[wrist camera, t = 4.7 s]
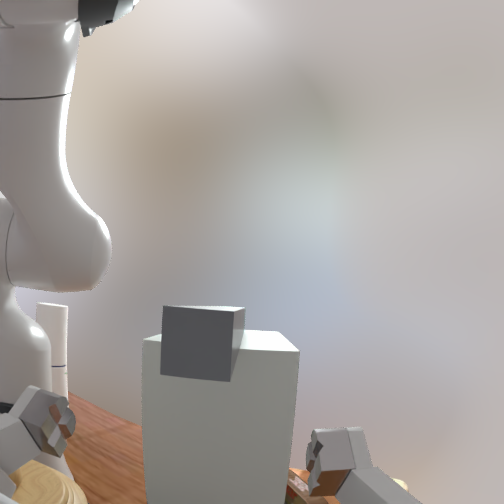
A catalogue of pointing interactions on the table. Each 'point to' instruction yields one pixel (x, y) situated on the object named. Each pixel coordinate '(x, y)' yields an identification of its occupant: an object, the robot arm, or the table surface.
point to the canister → (44, 486)
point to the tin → (300, 491)
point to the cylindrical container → (56, 342)
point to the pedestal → (221, 426)
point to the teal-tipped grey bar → (201, 341)
